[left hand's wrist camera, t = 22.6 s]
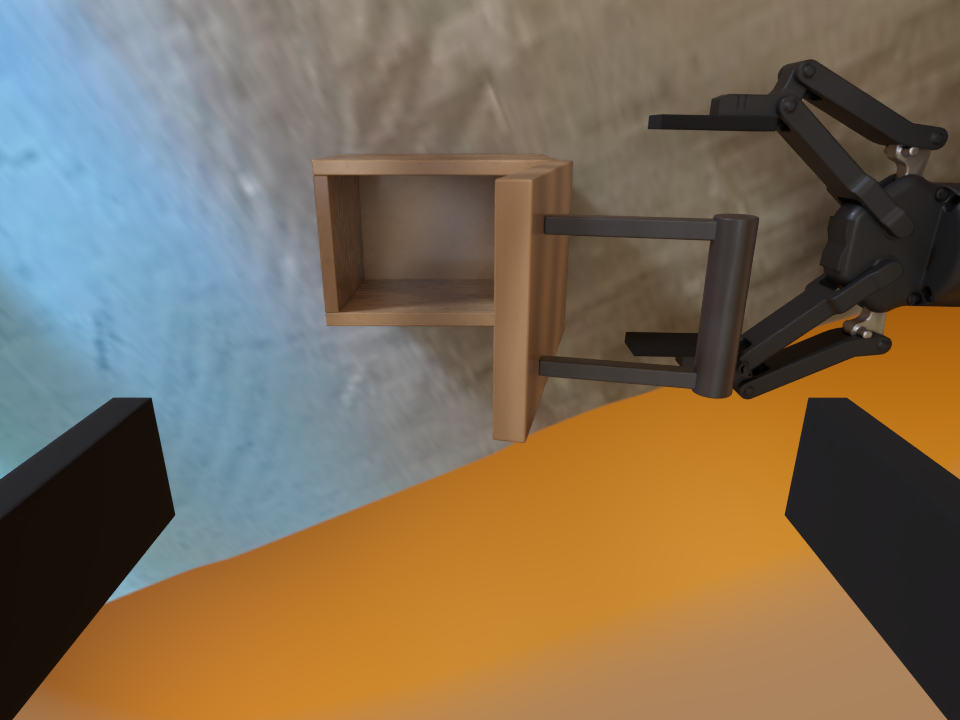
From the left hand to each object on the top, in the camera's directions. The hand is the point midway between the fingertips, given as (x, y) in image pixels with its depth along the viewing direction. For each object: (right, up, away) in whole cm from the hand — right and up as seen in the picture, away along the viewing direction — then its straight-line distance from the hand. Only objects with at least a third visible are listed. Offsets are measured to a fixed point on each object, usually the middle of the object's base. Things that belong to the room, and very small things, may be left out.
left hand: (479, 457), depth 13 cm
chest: (-2, +12, +32) cm, 34 cm away
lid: (+2, +6, +16) cm, 17 cm away
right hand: (+10, +9, +26) cm, 29 cm away
